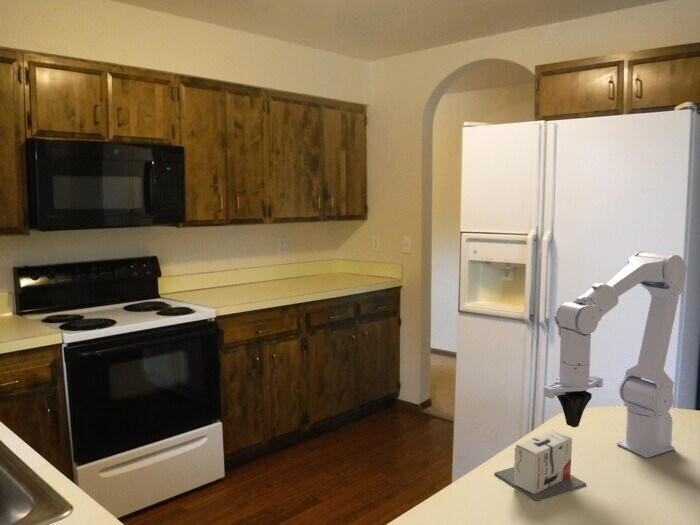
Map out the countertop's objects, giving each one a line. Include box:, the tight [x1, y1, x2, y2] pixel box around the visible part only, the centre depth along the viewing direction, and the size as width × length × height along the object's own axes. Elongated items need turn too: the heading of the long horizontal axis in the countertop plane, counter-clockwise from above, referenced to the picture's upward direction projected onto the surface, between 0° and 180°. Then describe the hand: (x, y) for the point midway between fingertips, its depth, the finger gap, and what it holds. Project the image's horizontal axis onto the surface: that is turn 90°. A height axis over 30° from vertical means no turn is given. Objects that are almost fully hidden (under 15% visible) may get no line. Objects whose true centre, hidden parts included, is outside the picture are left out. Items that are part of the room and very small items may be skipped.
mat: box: [494, 466, 587, 502], centre depth 119 cm, size 13×12×1 cm
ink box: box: [513, 430, 573, 494], centre depth 117 cm, size 8×5×12 cm
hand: (572, 425), depth 122 cm, fingers closed
